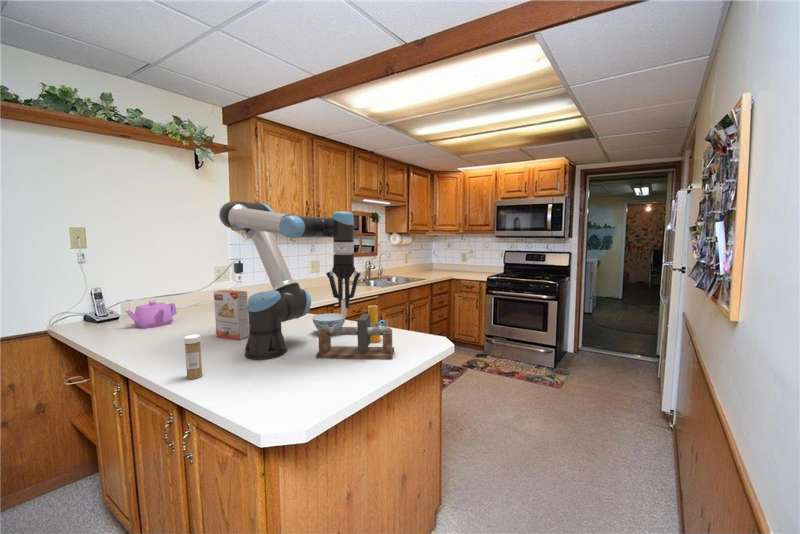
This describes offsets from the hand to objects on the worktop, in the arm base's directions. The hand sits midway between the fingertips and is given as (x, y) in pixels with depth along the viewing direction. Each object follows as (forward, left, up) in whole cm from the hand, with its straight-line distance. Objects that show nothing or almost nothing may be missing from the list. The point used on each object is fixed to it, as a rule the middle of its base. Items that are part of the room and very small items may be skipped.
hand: (344, 316), depth 136 cm
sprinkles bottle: (-44, -24, -15) cm, 52 cm away
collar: (+8, 0, -11) cm, 14 cm away
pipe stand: (+4, 0, -15) cm, 15 cm away
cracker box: (-56, +21, -15) cm, 61 cm away
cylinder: (+8, +18, -15) cm, 25 cm away
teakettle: (-109, +41, -15) cm, 117 cm away
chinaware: (-14, +29, -15) cm, 35 cm away
